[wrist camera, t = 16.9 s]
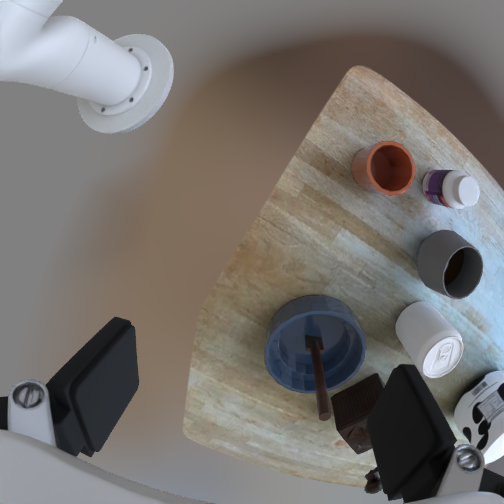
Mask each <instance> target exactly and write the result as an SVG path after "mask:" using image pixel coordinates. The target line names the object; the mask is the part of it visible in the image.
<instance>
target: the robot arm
mask: <svg viewBox="0 0 504 504" xmlns="http://www.w3.org/2000/svg"><path fill="white" fill-rule="evenodd" d="M62 1H63V0H0V81H12V82H21V83H27V84H32V85H36V86H41V87H44V88H48V89H51V90H55V91H59V92H62V93H66V94H69V95H73V96H76V97H79V98H82V99H86V100H88V102H89V105H90V106H91V108H92V109H93V110H94V111H96V112H97V113H99V114H102V115H106V116H115V115H119V114H122V113H124V112H126V111H128V110H129V109H131V108H132V107H133V106H135V105H136V104H137V103H138V102H139V101H140V99H141V98H142V97H143V96H144V94H145V93H146V91H147V89H148V87H149V85H150V82H151V78H152V71H153V69H152V63H151V60H150V58H149V56H148V55H147V54H146V53H145V52H144V51H143V50H141V49H140V48H137V47H133V46H125V47H121V46H119V45H118V44H116V43H115V42H113V41H112V40H110V39H109V38H107V37H106V36H104V35H103V34H101V33H100V32H98V31H97V30H95V29H94V28H92V27H91V26H89V25H87V24H86V23H84V22H83V21H81V20H79V19H77V18H75V17H71V16H55V17H50V15H51V14H52V13H53V12H54V11H55V9H56V8H57V7H58V6H59V5H60V4H61V2H62ZM138 385H139V376H138V365H137V353H136V336H135V327H134V326H132V325H131V322H130V321H129V320H125V319H122V318H119V317H114V318H113V319H112V320H111V321H109V322H108V323H107V324H106V325H105V326H104V327H103V328H102V329H101V330H100V331H99V332H98V333H97V334H96V335H95V336H94V337H93V338H92V339H91V340H90V341H88V342H87V343H86V344H85V346H83V347H82V348H81V349H80V350H79V351H78V352H77V353H76V354H75V355H74V356H73V357H72V358H71V359H70V360H69V361H68V362H67V363H66V364H65V365H64V366H63V367H62V368H61V369H60V370H59V371H58V372H57V373H56V374H55V375H54V376H53V377H52V378H51V379H50V381H49V382H48V383H47V384H46V385H44V384H43V383H41V382H40V381H37V380H34V379H25V380H21V381H19V382H17V383H15V384H14V385H13V386H12V387H11V389H10V391H9V395H8V397H0V504H214V503H208V502H204V501H199V500H195V499H191V498H186V497H182V496H178V495H175V494H171V493H168V492H164V491H160V490H158V489H154V488H151V487H148V486H145V485H142V484H139V483H136V482H133V481H131V480H128V479H126V478H123V477H120V476H118V475H115V474H113V473H110V472H108V471H105V470H103V469H101V468H98V467H96V466H94V465H91V464H89V463H87V462H85V461H83V460H81V459H79V458H77V457H76V456H77V455H78V454H79V452H81V453H83V454H85V455H87V456H89V457H92V455H93V454H94V452H95V451H96V452H99V451H100V450H101V448H102V446H103V445H104V443H105V442H106V440H107V438H108V437H109V435H110V433H111V432H112V430H113V428H114V427H115V425H116V423H117V422H118V420H119V418H120V417H121V415H122V414H123V412H124V410H125V408H126V407H127V406H128V404H129V402H130V401H131V399H132V397H133V396H134V394H135V392H136V391H137V389H138ZM367 429H368V432H369V436H370V440H371V444H372V448H373V451H374V455H375V459H376V463H377V467H378V471H379V475H380V480H381V484H382V488H383V492H384V493H385V494H387V496H388V500H389V501H390V500H396V499H401V498H403V500H404V503H403V504H504V477H503V476H501V475H498V474H496V473H494V472H492V471H490V470H487V469H485V468H484V465H485V459H484V456H483V454H482V453H481V451H480V450H479V449H478V448H476V447H475V446H473V445H469V444H462V445H459V446H458V447H456V448H455V446H454V444H455V442H456V441H457V440H456V438H455V436H454V434H453V432H452V430H451V428H450V426H449V424H448V422H447V420H446V419H445V417H444V415H443V413H442V411H441V409H440V408H439V406H438V404H437V402H436V400H435V399H434V397H433V395H432V393H431V392H430V390H429V388H428V387H427V385H426V383H425V381H424V380H423V378H422V376H421V375H420V373H419V371H418V370H417V368H416V366H415V365H409V364H400V365H399V366H398V367H397V368H394V369H393V371H392V373H391V375H390V377H389V379H388V381H387V383H386V385H385V387H384V389H383V391H382V393H381V395H380V397H379V398H378V400H377V402H376V404H375V406H374V408H373V409H372V411H371V413H370V415H369V416H368V419H367Z"/></svg>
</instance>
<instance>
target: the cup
mask: <svg viewBox="0 0 504 504" xmlns="http://www.w3.org/2000/svg"><path fill="white" fill-rule="evenodd" d="M417 269H418V273H419V277H420V279H421V280H422V281H423V283H424V284H425V285H426V286H427V287H429V288H430V289H432V290H434V291H436V292H439V293H441V294H443V295H446V296H448V297H450V298H453V299H462V298H465V297H467V296H468V295H470V294H471V293H472V292H473V291H474V290H475V288H476V287H477V285H478V284H479V282H480V279H481V276H482V271H483V261H482V257H481V255H480V253H479V251H478V250H477V249H476V248H475V247H473V246H472V245H471V244H470V243H468V242H467V241H466V240H465V239H463V238H462V237H461V236H460V235H458V234H457V233H455V232H454V231H450V230H440V231H437V232H434V233H433V234H431V235H430V236H429V237H428V238H426V239H425V240H424V241H423V242H422V244H421V245H420V247H419V250H418V253H417Z"/></svg>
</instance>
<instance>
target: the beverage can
mask: <svg viewBox="0 0 504 504" xmlns="http://www.w3.org/2000/svg"><path fill="white" fill-rule="evenodd" d="M395 329H396V335H397V337H398V338H399V340H400V341H401V343H402V345H403V346H404V348H405V349H406V351H407V353H408V354H409V356H410V357H411V359H412V361H413V362H414V364H415V366H416V367H417V369H418V370H419V372H420V373H422V374H423V375H426V376H427V377H429V378H438V377H441V376H444V375H445V374H447V373H449V372H450V371H451V370H452V369H453V368H454V367H455V366H456V365H457V364H458V362H459V361H460V359H461V356H462V354H463V343H462V338H461V336H460V334H459V333H458V331H457V330H456V329H455V328H454V327H453V326H452V325H451V324H450V323H449V322H448V321H447V320H446V319H445V318H444V317H443V316H442V315H441V314H440V313H439V312H438V311H437V310H436V309H435V308H434V307H433V306H432V305H431V304H429V303H427V302H416V303H413V304H411V305H409V306H408V307H406V308H405V309H404V310H403V311H402V313H401V314H400V315H399V317H398V319H397V322H396V328H395Z"/></svg>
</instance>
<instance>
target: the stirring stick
mask: <svg viewBox="0 0 504 504" xmlns="http://www.w3.org/2000/svg"><path fill="white" fill-rule="evenodd" d="M304 339H305V347H306V352H311V357H312V365H313V373H314V380H315V389H316V397H317V405H318V414H319V419H320V420H322V421H326V420H328V419H330V418H331V412H330V405H329V399H328V393H327V387H326V381H325V376H324V370H323V364H322V359H321V354H323V353H324V346H323V341H322V337H317V336H309V335H305V338H304ZM320 353H321V354H320Z"/></svg>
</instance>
